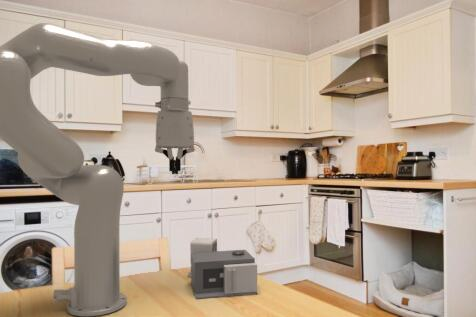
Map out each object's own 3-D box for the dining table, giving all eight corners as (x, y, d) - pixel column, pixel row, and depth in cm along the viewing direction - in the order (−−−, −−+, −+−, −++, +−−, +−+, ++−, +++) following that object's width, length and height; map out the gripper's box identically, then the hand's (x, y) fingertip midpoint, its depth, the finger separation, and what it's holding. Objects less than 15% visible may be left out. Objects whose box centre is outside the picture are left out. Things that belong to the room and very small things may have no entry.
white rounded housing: (211, 278, 103) (211, 242, 103) (187, 277, 105) (187, 241, 105) (217, 272, 109) (217, 238, 109) (194, 271, 111) (194, 237, 111)
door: (225, 295, 89) (225, 267, 89) (223, 291, 91) (223, 265, 91) (257, 292, 91) (257, 265, 91) (255, 289, 93) (255, 262, 93)
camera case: (195, 299, 88) (195, 262, 88) (191, 282, 100) (190, 250, 100) (257, 294, 91) (257, 258, 91) (245, 278, 103) (245, 247, 103)
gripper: (146, 104, 97) (146, 174, 96) (203, 105, 100) (204, 174, 100) (146, 108, 104) (147, 174, 104) (200, 109, 107) (200, 173, 107)
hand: (174, 173), depth 102 cm, fingers closed
